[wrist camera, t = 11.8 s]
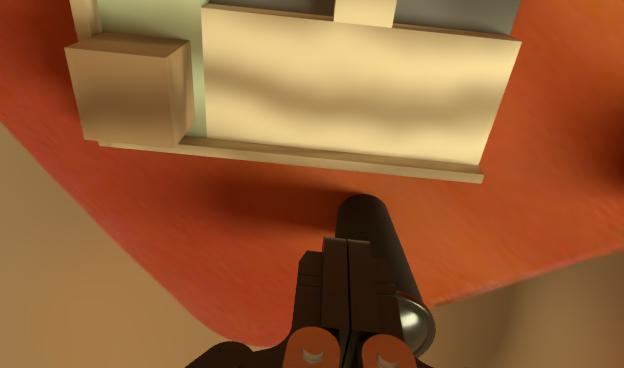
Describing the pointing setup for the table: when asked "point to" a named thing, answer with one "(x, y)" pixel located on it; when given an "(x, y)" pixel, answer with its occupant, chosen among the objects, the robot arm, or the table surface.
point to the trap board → (333, 78)
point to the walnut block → (133, 88)
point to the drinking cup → (385, 245)
